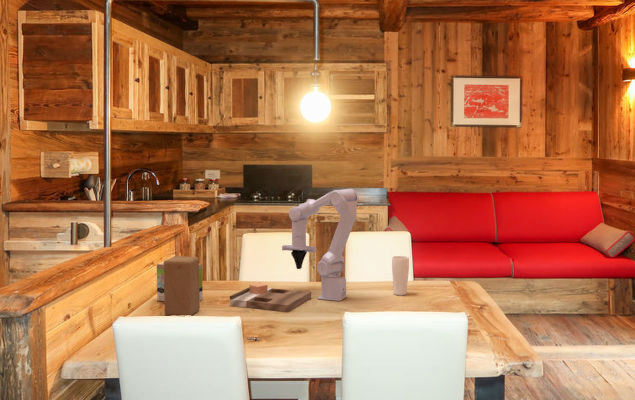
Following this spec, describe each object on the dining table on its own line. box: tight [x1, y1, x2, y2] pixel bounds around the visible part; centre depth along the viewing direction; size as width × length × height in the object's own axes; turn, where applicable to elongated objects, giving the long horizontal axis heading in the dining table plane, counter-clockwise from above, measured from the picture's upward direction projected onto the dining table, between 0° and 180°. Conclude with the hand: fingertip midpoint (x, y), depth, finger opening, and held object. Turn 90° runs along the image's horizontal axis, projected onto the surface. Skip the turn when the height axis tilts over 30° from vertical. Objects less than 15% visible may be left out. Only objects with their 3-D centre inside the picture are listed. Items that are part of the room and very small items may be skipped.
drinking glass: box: [391, 255, 410, 296], centre depth 260 cm, size 7×7×15 cm
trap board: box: [229, 286, 312, 313], centre depth 249 cm, size 24×22×4 cm
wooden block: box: [162, 255, 201, 316], centre depth 233 cm, size 10×10×20 cm
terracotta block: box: [249, 282, 269, 295], centre depth 254 cm, size 5×5×3 cm
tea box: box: [156, 262, 204, 302], centre depth 251 cm, size 15×10×15 cm, turn 62°
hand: (299, 268), depth 266 cm, fingers closed
